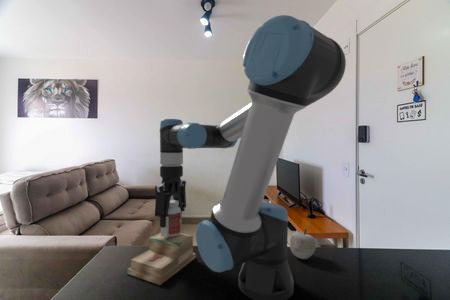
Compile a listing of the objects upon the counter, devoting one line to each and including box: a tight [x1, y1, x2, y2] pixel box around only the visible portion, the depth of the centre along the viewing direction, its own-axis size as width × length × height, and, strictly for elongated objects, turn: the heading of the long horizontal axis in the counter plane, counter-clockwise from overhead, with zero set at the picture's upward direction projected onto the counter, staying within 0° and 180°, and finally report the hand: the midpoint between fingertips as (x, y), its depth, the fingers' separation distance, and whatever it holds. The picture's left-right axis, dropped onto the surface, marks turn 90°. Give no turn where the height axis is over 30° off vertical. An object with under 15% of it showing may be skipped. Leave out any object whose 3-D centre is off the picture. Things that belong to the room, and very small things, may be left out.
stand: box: [126, 231, 197, 286], centre depth 77 cm, size 13×18×8 cm
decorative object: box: [289, 228, 317, 260], centre depth 83 cm, size 9×9×10 cm
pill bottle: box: [163, 199, 182, 236], centre depth 80 cm, size 6×6×11 cm
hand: (171, 232), depth 80 cm, fingers closed on pill bottle, 6 cm apart
